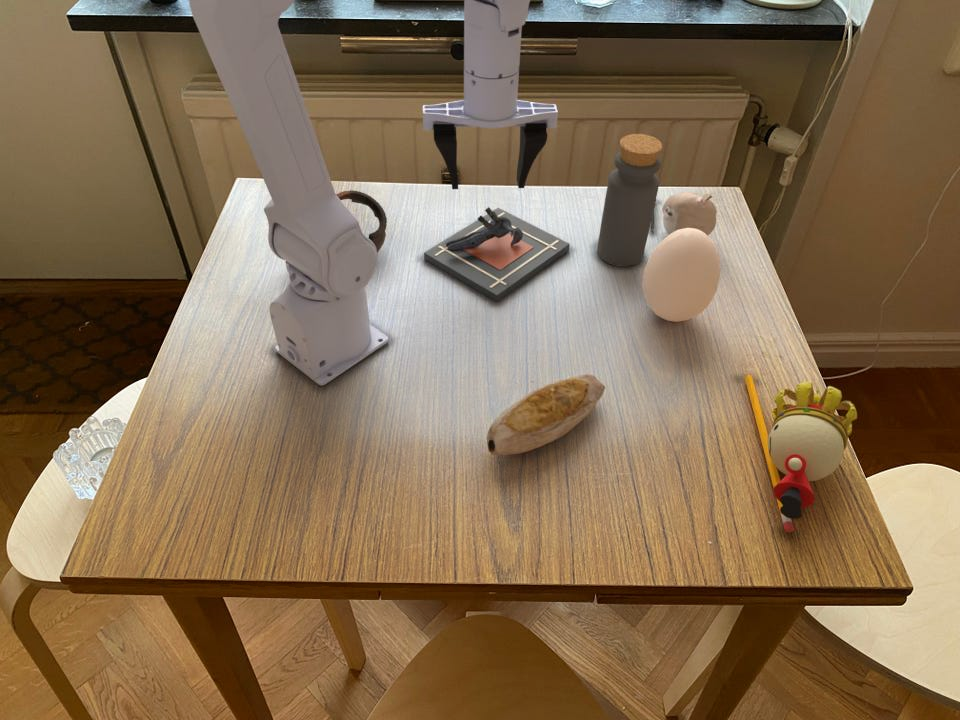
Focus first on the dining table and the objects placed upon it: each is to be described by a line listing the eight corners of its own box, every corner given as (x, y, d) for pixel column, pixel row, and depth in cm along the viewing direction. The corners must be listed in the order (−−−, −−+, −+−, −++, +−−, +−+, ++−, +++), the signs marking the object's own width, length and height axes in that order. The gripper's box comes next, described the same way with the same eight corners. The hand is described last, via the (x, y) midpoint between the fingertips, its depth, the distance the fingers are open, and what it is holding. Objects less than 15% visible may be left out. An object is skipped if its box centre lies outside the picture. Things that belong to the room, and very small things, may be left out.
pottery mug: (349, 218, 94) (372, 178, 88) (381, 277, 92) (407, 240, 86) (266, 231, 87) (285, 187, 81) (299, 294, 85) (321, 255, 79)
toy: (747, 523, 63) (778, 406, 72) (837, 544, 60) (857, 418, 69) (748, 472, 59) (780, 354, 68) (844, 491, 55) (865, 364, 64)
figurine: (446, 238, 80) (460, 279, 82) (525, 209, 81) (537, 251, 83) (433, 219, 91) (446, 256, 93) (502, 193, 92) (513, 231, 94)
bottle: (652, 261, 88) (678, 151, 78) (610, 271, 87) (631, 160, 76) (628, 235, 92) (650, 127, 82) (588, 244, 91) (605, 135, 80)
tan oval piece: (616, 412, 70) (623, 382, 67) (503, 480, 64) (505, 450, 61) (581, 381, 73) (586, 351, 70) (470, 443, 67) (470, 413, 64)
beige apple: (658, 246, 90) (671, 192, 85) (657, 219, 95) (670, 165, 89) (710, 252, 90) (727, 197, 84) (707, 224, 94) (723, 170, 88)
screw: (653, 202, 98) (647, 199, 98) (657, 197, 98) (651, 194, 98) (653, 235, 93) (647, 232, 93) (657, 230, 92) (651, 227, 92)
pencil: (783, 532, 61) (785, 527, 60) (743, 379, 74) (745, 374, 73) (792, 532, 61) (795, 528, 60) (751, 379, 74) (753, 375, 73)
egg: (701, 345, 78) (730, 262, 70) (629, 328, 79) (649, 245, 71) (709, 301, 83) (736, 219, 75) (641, 286, 85) (660, 204, 77)
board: (496, 302, 82) (497, 294, 81) (423, 259, 88) (423, 251, 87) (569, 250, 90) (570, 243, 89) (497, 213, 95) (498, 206, 94)
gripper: (555, 52, 76) (544, 165, 86) (420, 52, 75) (425, 167, 85) (565, 79, 71) (552, 197, 81) (421, 80, 70) (425, 199, 80)
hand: (487, 184), depth 82 cm, fingers open, 7 cm apart
